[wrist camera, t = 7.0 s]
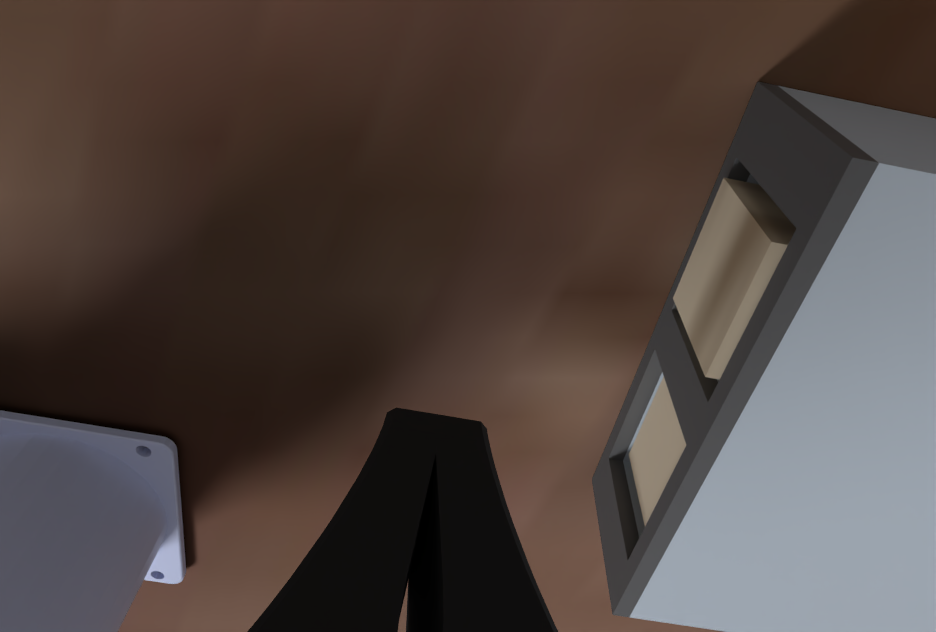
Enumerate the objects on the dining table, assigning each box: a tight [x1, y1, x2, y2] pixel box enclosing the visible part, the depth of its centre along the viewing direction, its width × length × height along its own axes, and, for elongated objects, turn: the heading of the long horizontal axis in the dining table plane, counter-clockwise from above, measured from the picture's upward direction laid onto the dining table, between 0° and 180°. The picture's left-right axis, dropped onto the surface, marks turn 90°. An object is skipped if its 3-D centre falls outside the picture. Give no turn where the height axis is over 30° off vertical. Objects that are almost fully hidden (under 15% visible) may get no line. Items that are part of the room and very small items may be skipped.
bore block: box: [592, 82, 936, 632], centre depth 18 cm, size 10×14×5 cm
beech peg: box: [673, 178, 796, 379], centre depth 17 cm, size 10×4×4 cm, turn 79°
